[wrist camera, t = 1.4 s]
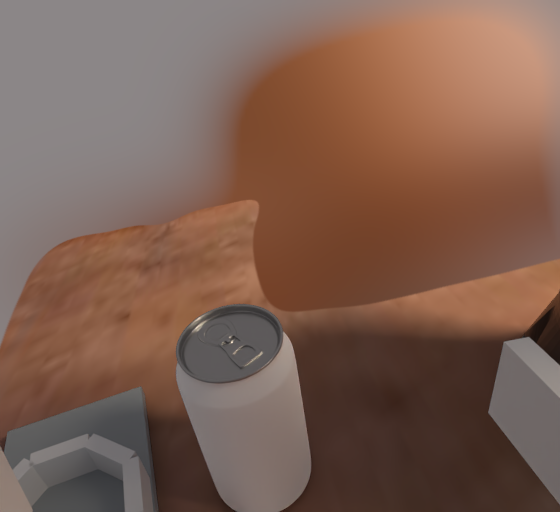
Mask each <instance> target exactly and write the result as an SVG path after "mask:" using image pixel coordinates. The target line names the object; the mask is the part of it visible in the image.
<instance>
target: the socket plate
mask: <svg viewBox="0 0 560 512" xmlns="http://www.w3.org/2000/svg"><path fill="white" fill-rule="evenodd" d="M4 455H5V457H6V459H7V461H8V463H9V465H10V466H11V468H12V470H13V472H14V474H15V476H16V478H17V480H18V482H19V484H20V486H21V488H22V490H23V492H24V494H25V496H26V498H27V500H28V502H29V504H30V505H31V507H32V509H33V512H159V510H158V502H157V493H156V485H155V477H154V468H153V460H152V452H151V443H150V435H149V427H148V418H147V410H146V402H145V394H144V392H143V390H142V387H138V388H135V389H132V390H129V391H126V392H123V393H120V394H117V395H114V396H111V397H108V398H105V399H102V400H99V401H96V402H94V403H91V404H88V405H85V406H82V407H79V408H76V409H73V410H70V411H67V412H64V413H61V414H58V415H55V416H52V417H49V418H47V419H44V420H41V421H38V422H35V423H32V424H29V425H26V426H23V427H20V428H17V429H14V430H11V431H8V433H7V438H6V443H5V449H4Z"/></svg>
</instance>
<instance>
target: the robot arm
mask: <svg viewBox="0 0 560 512" xmlns="http://www.w3.org/2000/svg"><path fill="white" fill-rule="evenodd" d="M488 413H489V414H490V416H491V417H492V418H493V420H494V421H495V422H496V423H497V425H498V426H499V427H500V429H501V430H502V431H503V432H504V434H505V435H506V436H507V438H508V439H509V440H510V441H511V443H512V444H513V445H514V447H515V448H516V449H517V450H518V452H519V453H520V454H521V456H522V457H523V458H524V459H525V461H526V462H527V463H528V465H529V466H530V467H531V468H532V470H533V471H534V472H535V474H536V475H537V476H538V477H539V479H540V480H541V481H542V483H543V484H544V485H545V486H546V488H547V489H548V490H549V492H550V493H551V494H552V495H553V497H554V498H555V499H556V501H557V502H558V503H559V504H560V291H559V293H558V294H557V295H556V297H555V298H554V299H553V300H552V301H551V303H550V304H549V305H548V306H547V307H546V309H545V310H544V311H543V312H542V313H541V315H540V316H539V317H538V318H537V319H536V321H535V322H534V323H533V324H532V325H531V327H530V328H529V329H528V330H527V331H526V333H525V334H524V335H523V336H522V338H521V339H515V340H510V341H505V342H504V344H503V348H502V353H501V357H500V362H499V366H498V371H497V375H496V380H495V384H494V389H493V393H492V398H491V402H490V407H489V411H488ZM0 512H33V509H32V507H31V505H30V504H29V502H28V500H27V498H26V496H25V494H24V492H23V490H22V488H21V486H20V484H19V482H18V480H17V478H16V476H15V474H14V472H13V470H12V468H11V466H10V465H9V463H8V461H7V459H6V457H5V455H4V453H3V451H2V449H1V447H0Z"/></svg>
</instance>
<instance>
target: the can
mask: <svg viewBox="0 0 560 512" xmlns="http://www.w3.org/2000/svg"><path fill="white" fill-rule="evenodd" d="M176 357H177V361H178V362H177V367H176V379H177V384H178V388H179V391H180V394H181V397H182V399H183V402H184V405H185V408H186V410H187V413H188V416H189V418H190V421H191V424H192V426H193V429H194V432H195V434H196V437H197V440H198V442H199V445H200V448H201V450H202V453H203V456H204V458H205V461H206V463H207V466H208V469H209V471H210V474H211V476H212V479H213V481H214V484H215V486H216V489H217V491H218V493H219V495H220V497H221V498H222V500H223V501H224V502H225V503H226V504H227V505H228V506H229V507H230V508H232V509H233V510H235V511H237V512H280V511H282V510H284V509H285V508H287V507H288V506H290V505H291V504H292V503H294V502H295V501H296V500H297V499H298V498H299V496H300V495H301V494H302V492H303V491H304V489H305V487H306V486H307V483H308V481H309V478H310V473H311V455H310V448H309V441H308V434H307V428H306V421H305V415H304V408H303V402H302V395H301V389H300V383H299V377H298V371H297V365H296V359H295V354H294V350H293V347H292V344H291V342H290V340H289V338H288V337H287V335H286V334H285V333H284V332H283V329H282V326H281V323H280V322H279V320H278V319H277V317H276V316H275V315H273V314H272V313H271V312H269V311H268V310H266V309H264V308H261V307H258V306H254V305H248V304H234V305H227V306H223V307H219V308H216V309H213V310H211V311H208V312H206V313H204V314H203V315H201V316H199V317H198V318H196V319H195V320H194V321H193V322H191V323H190V324H189V325H188V326H187V327H186V329H185V330H184V331H183V332H182V334H181V336H180V338H179V340H178V343H177V346H176Z"/></svg>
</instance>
